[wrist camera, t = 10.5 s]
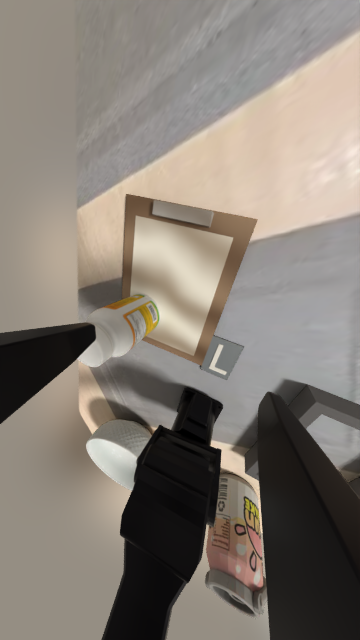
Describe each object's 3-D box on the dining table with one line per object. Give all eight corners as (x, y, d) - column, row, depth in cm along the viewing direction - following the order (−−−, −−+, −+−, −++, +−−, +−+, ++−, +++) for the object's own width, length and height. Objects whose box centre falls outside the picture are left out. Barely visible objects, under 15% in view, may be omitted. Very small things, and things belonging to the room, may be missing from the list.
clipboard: (202, 363, 22) (200, 370, 21) (122, 329, 25) (116, 333, 24) (257, 220, 14) (258, 217, 13) (129, 195, 17) (120, 190, 16)
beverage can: (268, 505, 30) (284, 640, 19) (229, 499, 34) (224, 607, 23) (245, 472, 28) (248, 597, 18) (206, 470, 32) (191, 571, 22)
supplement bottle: (123, 315, 23) (57, 350, 15) (135, 285, 20) (62, 307, 12) (152, 336, 23) (101, 384, 14) (168, 308, 20) (116, 347, 12)
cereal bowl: (148, 462, 41) (132, 499, 35) (101, 420, 41) (77, 449, 35) (186, 448, 32) (173, 493, 26) (127, 395, 32) (100, 428, 26)
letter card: (226, 379, 22) (226, 380, 22) (200, 367, 23) (200, 369, 23) (243, 346, 19) (243, 347, 19) (213, 335, 20) (212, 336, 20)
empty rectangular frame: (331, 501, 24) (340, 525, 22) (244, 455, 27) (245, 473, 25) (452, 441, 15) (487, 472, 13) (307, 384, 18) (316, 401, 16)
